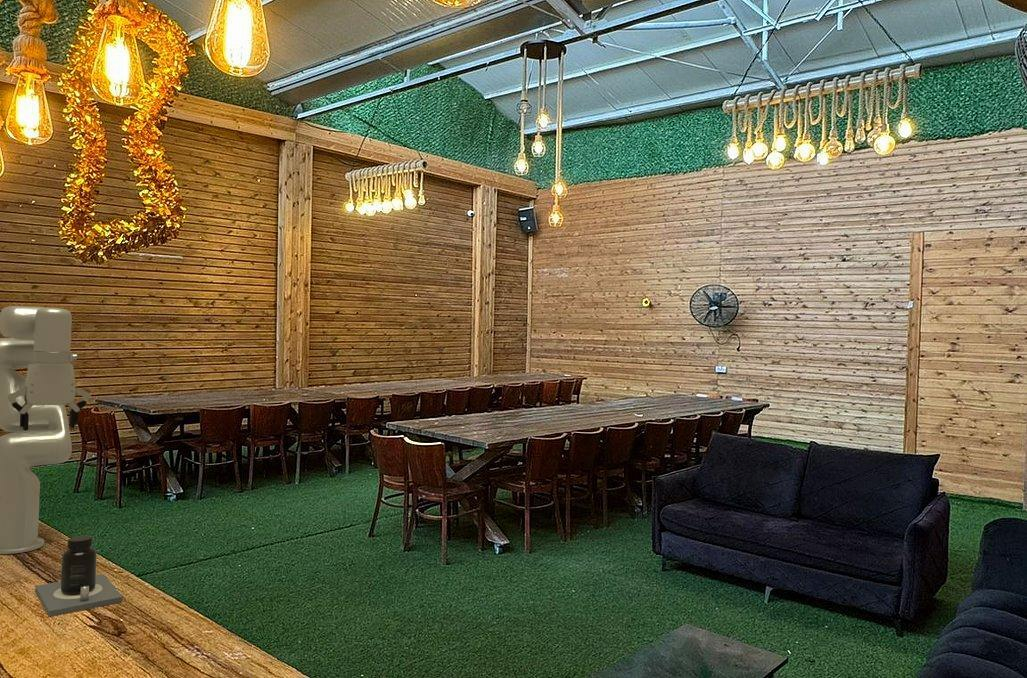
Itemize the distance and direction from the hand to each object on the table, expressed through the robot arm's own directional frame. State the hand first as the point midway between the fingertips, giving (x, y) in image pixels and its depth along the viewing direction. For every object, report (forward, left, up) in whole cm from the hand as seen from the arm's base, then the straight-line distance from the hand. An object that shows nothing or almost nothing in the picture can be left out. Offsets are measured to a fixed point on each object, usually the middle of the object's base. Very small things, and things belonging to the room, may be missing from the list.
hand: (49, 428), depth 172 cm
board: (+19, +4, -36) cm, 41 cm away
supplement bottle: (+19, +4, -35) cm, 40 cm away
